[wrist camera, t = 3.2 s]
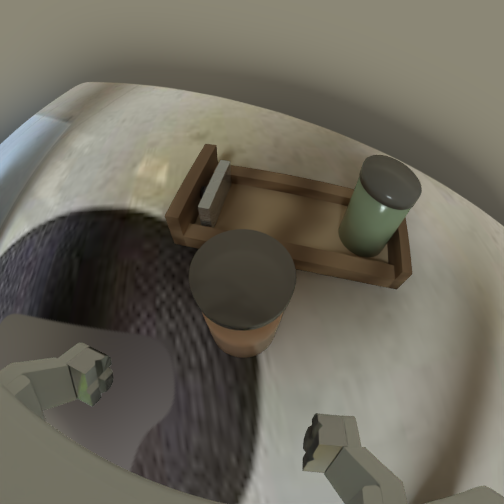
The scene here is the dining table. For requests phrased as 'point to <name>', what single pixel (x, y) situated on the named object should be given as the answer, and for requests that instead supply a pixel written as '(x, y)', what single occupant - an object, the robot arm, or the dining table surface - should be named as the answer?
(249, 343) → the terracotta jar
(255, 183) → the wooden tray
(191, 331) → the dining table surface
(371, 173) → the olive jar
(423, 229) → the dining table surface
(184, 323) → the dining table surface
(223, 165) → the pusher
